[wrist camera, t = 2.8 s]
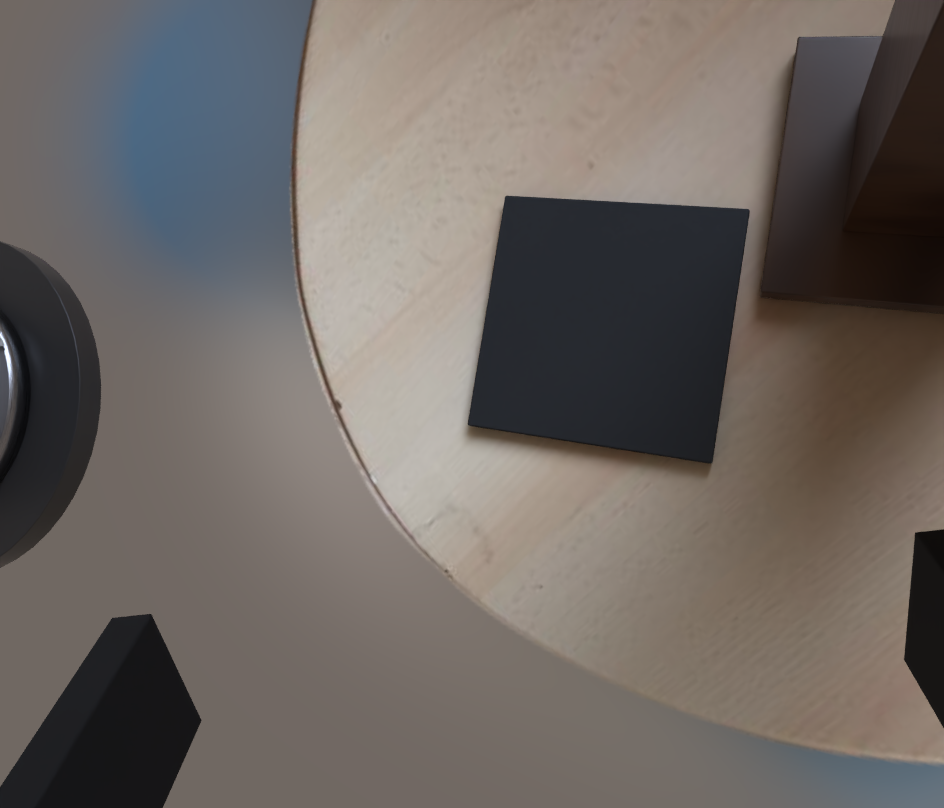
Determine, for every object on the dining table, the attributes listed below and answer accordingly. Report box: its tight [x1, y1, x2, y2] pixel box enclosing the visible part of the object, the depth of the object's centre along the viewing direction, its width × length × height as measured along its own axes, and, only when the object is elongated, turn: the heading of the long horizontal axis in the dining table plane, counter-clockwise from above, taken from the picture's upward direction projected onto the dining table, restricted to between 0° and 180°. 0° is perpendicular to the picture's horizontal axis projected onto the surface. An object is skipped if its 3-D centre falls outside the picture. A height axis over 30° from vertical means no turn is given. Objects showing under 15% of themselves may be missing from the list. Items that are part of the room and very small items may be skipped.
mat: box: [468, 196, 749, 464], centre depth 39 cm, size 12×12×1 cm
